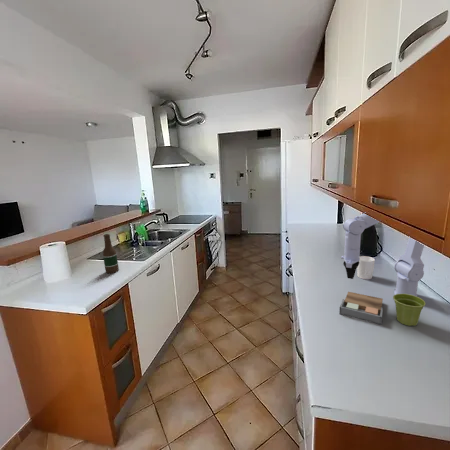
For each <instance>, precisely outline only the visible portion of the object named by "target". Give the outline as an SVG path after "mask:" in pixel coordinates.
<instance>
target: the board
mask: <svg viewBox="0 0 450 450" xmlns="http://www.w3.org/2000/svg"><path fill="white" fill-rule="evenodd" d="M344 300H345V301H344V305H345V306H347V303H348V302H349V303H353V304H358V305H359V309H362V310H366V306H367V307H371V308H376V309H378V313H379V314H380V313H381V308H383V300H384V299H383V298H382V297H377V296H376V297H375V296H371V295H367V294H362V293H356V292H352V291H348V292H347V294H346V297H345V299H344Z"/></svg>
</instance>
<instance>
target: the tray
mask: <svg viewBox="0 0 450 450" xmlns="http://www.w3.org/2000/svg"><path fill="white" fill-rule="evenodd" d="M344 301H345V299H342V301H341V303H340V306H339V311H338V312H339V315H341V316H342V315H343V316H346V317H349V318H353V319H357V320H361V321H366V322H370V323H374V324H377V325H382V322H383V321H382V320H383V312H384V311H383V310H384V308H383V307H382V308H381V313H380V314H379V313H378V315H374V314H370V313H366V312H365V310H362V309H359V310H358V311H357V310H353V309H349V308H346V306H345V305H344Z"/></svg>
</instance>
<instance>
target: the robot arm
mask: <svg viewBox="0 0 450 450" xmlns="http://www.w3.org/2000/svg"><path fill="white" fill-rule="evenodd" d="M378 223H380V222H379V221H377V220H375V219H373V218H371V217H370V216H368V215H366V214H364V213H362V214H360V215H355V216H354V218H350V217H349V218H348V219H346V220H345V222H344V223H343V224H342V228H343V230H344V231H345V233H344V251H343V252H344V253H343V254H344V255H341V257H340V259H342V260H344V261H343V264H342V265H343V266H344V268H345V272H346V277H347V279H350V280H354V277H355V275H356V271H357V267H358V265H359V261H360V258H359V257H360V256H361V255H360V253H361V239H362V233H363V232H364V231H365V229H368V228H371V227H372V226H374V225H376V224H378ZM424 248H425V245H422V244H420V243H419V242H417V241H415V240H413V239H411V238H409V237H408V240H407V244H406V247H405V250H404V254H401V255H399V257H398V258H397V260H396V262H395V263H394V265H393V266H394V271H395V272H396V276H397V277H396V283H395V284H396V286H395V288H394V292H393V293H394V295H396V294H409V295H413V296H416V297H418V286H419V285H418V284H419V282H420V280H422V278H424V274H425V271H424V268H425V264H424V262H423V260H422V259H421V257H422V255H423V251H424ZM394 295H393V296H394Z"/></svg>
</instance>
